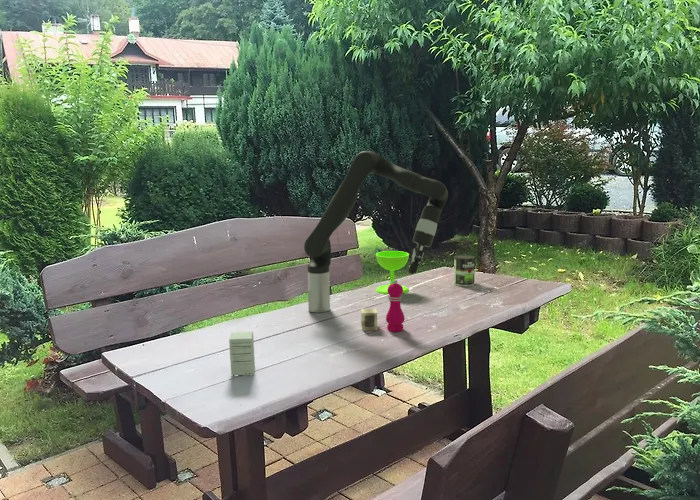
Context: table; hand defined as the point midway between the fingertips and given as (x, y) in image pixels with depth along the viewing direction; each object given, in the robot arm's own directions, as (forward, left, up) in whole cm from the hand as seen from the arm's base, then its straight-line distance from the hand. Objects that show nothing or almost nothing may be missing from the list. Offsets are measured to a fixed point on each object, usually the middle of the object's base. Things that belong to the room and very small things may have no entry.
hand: (411, 272), depth 235 cm
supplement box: (-60, -37, -23) cm, 74 cm away
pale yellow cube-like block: (-16, +5, -23) cm, 29 cm away
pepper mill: (-6, +2, -23) cm, 24 cm away
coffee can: (+36, +70, -23) cm, 82 cm away
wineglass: (-1, +61, -23) cm, 66 cm away
